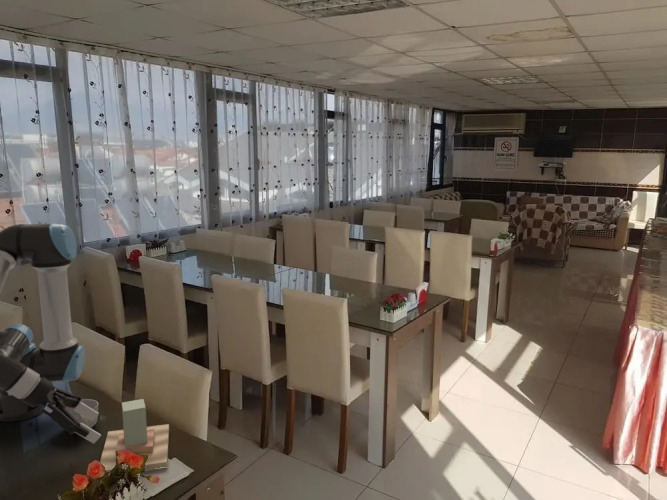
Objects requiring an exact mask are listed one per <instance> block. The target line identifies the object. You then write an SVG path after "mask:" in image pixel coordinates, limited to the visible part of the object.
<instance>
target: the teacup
mask: <svg viewBox="0 0 667 500" xmlns="http://www.w3.org/2000/svg"><path fill="white" fill-rule="evenodd" d="M80 402H82V403H84V404H85V405H87V406H88V407H90V408H91V409H93V410H95V411H96V412H98V413H99V402H98V401H97V400H94V399H90V398H84V399H82V398H81V400H80ZM74 408H75V407H74ZM74 408H71V407H65V409H66V410H67V411H68V412H69V413H70V414H71V415H72V416H73V417H74V418H75V419H76V420H77V421H78V422H79V423H83V424H84V425H86V426H88V427H89V428H91V429H93V427H94V426H95V425H96V423H98V420H99V419H98V417H99V415H98V416H97V417H96V418H95V419H94V420H93V421H91V420H89V419H87V418H86V417H84V416H82V415H81V414H79V413H78V412H76V411H74ZM72 427H73V426H72ZM73 434H76V433H75V432H74V433H73Z"/></svg>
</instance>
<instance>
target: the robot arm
mask: <svg viewBox="0 0 667 500" xmlns="http://www.w3.org/2000/svg"><path fill="white" fill-rule="evenodd" d="M77 250H78V246H77V240H76V236H75V234H74V232H73V230H72V228H71V227H70V226H68V225H66V224H61V223H29V224H27V223H26V224H25V223H21V224H19V223H18V224H14V225H10V226H8V227H6V228H4V229H2V230H0V294H2V290H3V288H4V285H5V282H6V280H7V277H8V275H9V273H10V270H11V271H12V270H13V269H14V268H15V267H16V265H17V262H19V261H30V264H31V265H30V266H31V268H32V269H34V270H35V271H36V273H37V281H38V292H39V302H40V314H41V323H42V334H43V335H42V336H43V340H42V341H41V343H39V345H38V346H39V347H37V345H36V343H35V342H33V340H34V332H33V331H32V329H31V328H30V327H28V326H27V325H26V324H22V323H12V324H10V325H9V326H8V327H7V328H5V329H4V330H3V331H0V422H3V423H5V422H6V423H13V422H20V421H25V420H28V419H31V418H35V417H36V416H39V415H40V414H41V413H44V414H45V415H47V416H48V417H49V418H50V419H51V420H53V421H54V422H55V423H57V425H58V426H60V427H61V428H62V429H63V430H64V431H66V432H67V433H68V435H70V436H72V435H73V434H76V435H78V436H80V437H81V438H84V439H85V440H87V441H88V442H90V443H92V444H96V442H97V441H98V440H99V439H100V438H101V436H102V433H99V432H98V431H96V430H94V429H93V428H89V427H88V426H86V425H84V424H83V423H79V422H78V421H77V420H76V419H75V418H74V417H73V416H72V415H71V414H70V413H69V412H68V411H67V410H66V409H65V407H71V408H74V407H75V408H74V411H76V412H78V413H79V414H81V415H82V416H84V417H86V418H87V419H89V420H91V421H93V420H94V419H95V418H96V417H97V416H98V417H99V414H100V413H99V411H98V412H96V411H95V410H93V409H91V408H90V407H88V406H87V405H85V404H84V403H82V402H80V400H81V399H82V398H81V396H78V395H76V394H74V393H70V392H68V391H66V390H63V389H62V388H59V387H56V386H55V385H54V383H59V382H60V383H61V382H63V383H65V382H72V381H76V380H78V379H79V378H80V376H81V375H82V372H83V369H84V366H85V361H86V349H85V346H83V345H79V341H78V338H77V337H75V336H74V335H73V329H72V328H73V327H72V316H71V303H70V293H69V281H68V280H69V279H68V268H69V266H71V265H72V260H73V259H75V258H76V257H77ZM72 426H73V427H72ZM74 432H75V433H74Z"/></svg>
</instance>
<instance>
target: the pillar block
mask: <svg viewBox="0 0 667 500" xmlns="http://www.w3.org/2000/svg"><path fill="white" fill-rule="evenodd" d="M121 411H122V412H121V413H122V427H123V429H122V430H123V431H124V441H125V447H129V446H133V445H138V444H143V443H147V427H148V425H147V407H146V404H145V400H144V398H140V399H135V400H129V401H123V402H121Z"/></svg>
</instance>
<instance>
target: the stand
mask: <svg viewBox="0 0 667 500" xmlns="http://www.w3.org/2000/svg"><path fill="white" fill-rule="evenodd" d="M169 438H170V424H168V423H167V424H166V423H165V424H159V425H158V424H157V425H150V426H147V443H143V444H138V445H133V446H129V447H125V441H124V431H123V429H119V430H111V431H110V430H109V431H107V436H106V439H105V443H104V446H103V450H102V453H101V457H100V460H99V464H100V463H101V464H102V465H103V466H104V467H105V470H106V472H110V471H111V470H112V469H113V468H114V467H115V465H116V454H117V452H118V451H121V450H129V451H131V452H133V453H135V454H138V455H148V459H147V461H146V463H145V467H144V468H145V470H152V469H155V468H160V467H167V468H168V464H167V461H169V460H168V459H169V443H170V442H169V440H170V439H169Z"/></svg>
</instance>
